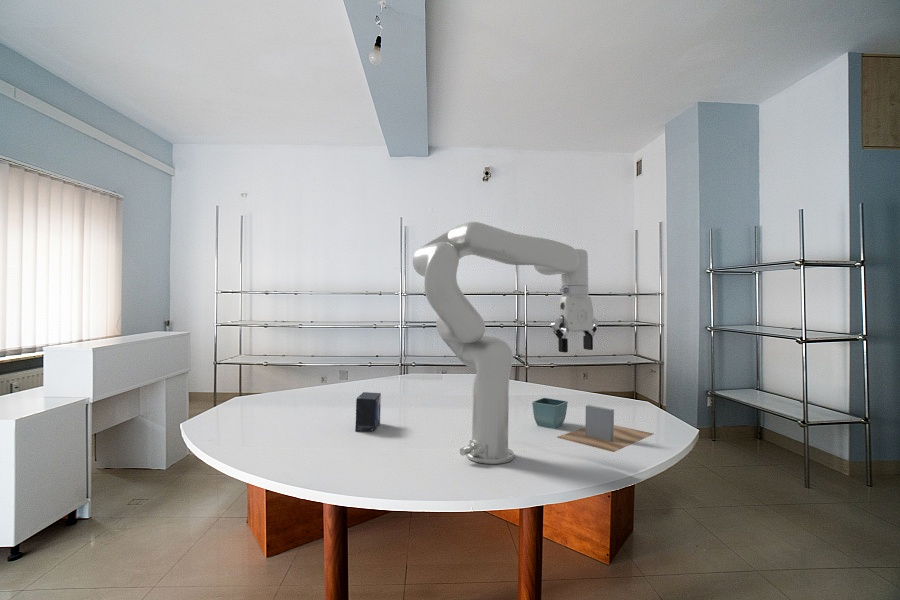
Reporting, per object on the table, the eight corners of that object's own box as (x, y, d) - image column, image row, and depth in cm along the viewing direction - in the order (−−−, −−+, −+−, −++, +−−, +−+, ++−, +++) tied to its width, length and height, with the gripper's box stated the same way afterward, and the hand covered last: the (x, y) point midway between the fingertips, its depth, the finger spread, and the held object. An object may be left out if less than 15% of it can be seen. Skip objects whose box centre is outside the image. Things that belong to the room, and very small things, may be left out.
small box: (375, 432, 146) (376, 398, 146) (354, 432, 146) (355, 398, 146) (381, 423, 156) (381, 392, 156) (361, 423, 156) (362, 391, 156)
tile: (610, 441, 135) (610, 410, 135) (585, 435, 140) (585, 405, 140) (613, 440, 136) (614, 409, 136) (588, 434, 142) (589, 404, 142)
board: (613, 456, 125) (613, 451, 125) (556, 441, 138) (556, 437, 138) (654, 437, 143) (654, 433, 143) (599, 425, 156) (599, 422, 156)
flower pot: (556, 434, 146) (556, 405, 146) (531, 429, 151) (531, 401, 151) (568, 428, 153) (568, 401, 153) (543, 424, 158) (543, 397, 158)
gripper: (561, 292, 128) (562, 354, 129) (606, 291, 137) (607, 349, 137) (543, 292, 135) (544, 351, 135) (587, 291, 143) (588, 347, 144)
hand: (575, 350), depth 136 cm, fingers open, 9 cm apart
